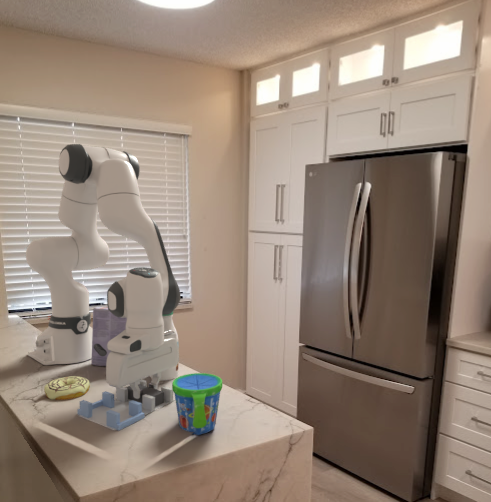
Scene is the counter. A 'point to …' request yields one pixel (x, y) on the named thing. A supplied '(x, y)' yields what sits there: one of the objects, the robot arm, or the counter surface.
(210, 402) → the snack cup
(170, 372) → the milk bottle
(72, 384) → the decorated donut
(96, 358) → the cake pan box
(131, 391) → the long gray rectangular prism
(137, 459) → the counter surface
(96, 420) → the pegged tray
